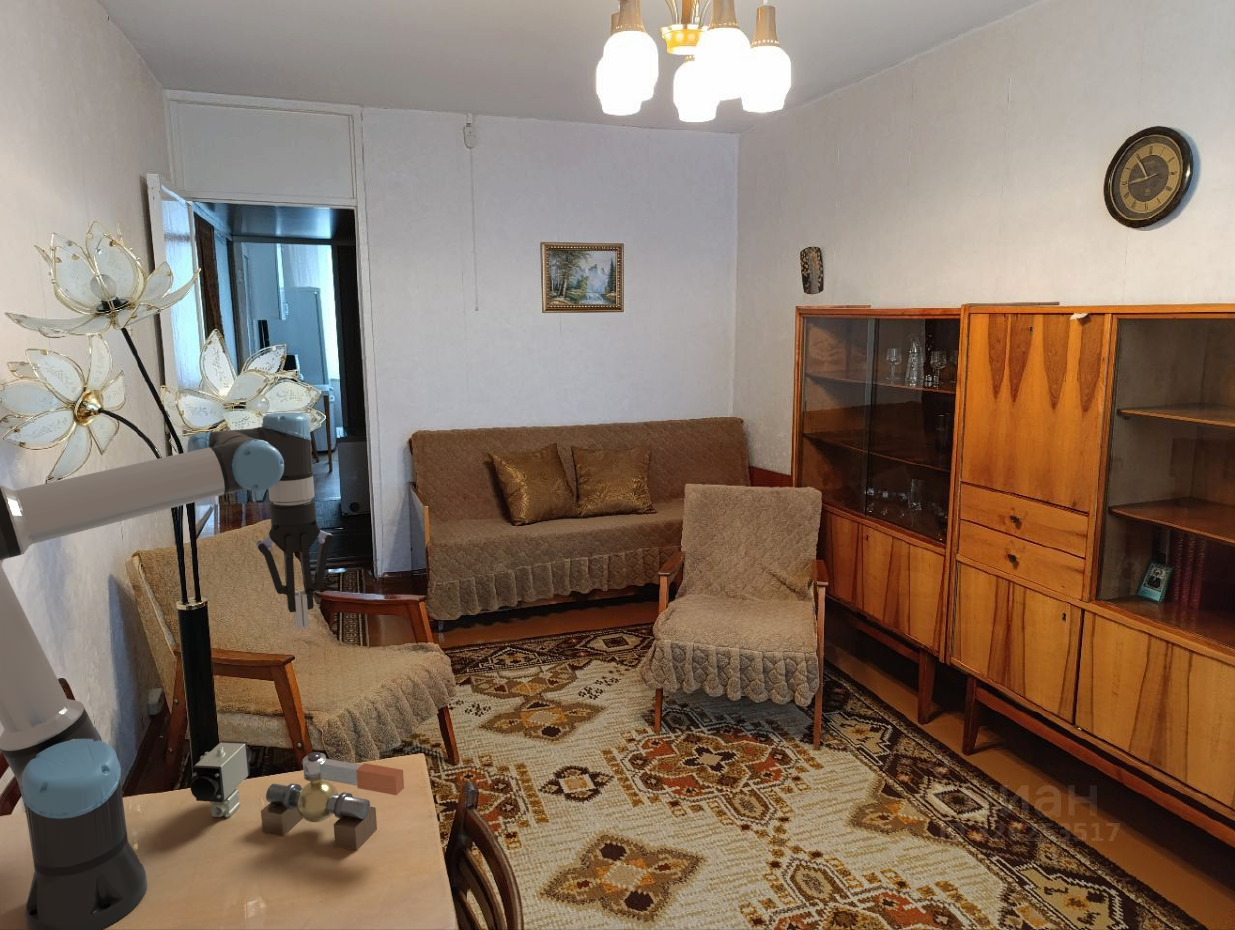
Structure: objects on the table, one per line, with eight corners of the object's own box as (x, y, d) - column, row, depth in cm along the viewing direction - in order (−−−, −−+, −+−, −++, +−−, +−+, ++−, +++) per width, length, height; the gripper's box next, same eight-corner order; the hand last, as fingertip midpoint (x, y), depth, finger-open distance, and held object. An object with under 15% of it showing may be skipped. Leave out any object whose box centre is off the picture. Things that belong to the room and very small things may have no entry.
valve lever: (299, 780, 140) (297, 758, 139) (313, 768, 143) (311, 748, 142) (394, 797, 134) (392, 775, 134) (406, 785, 138) (405, 764, 137)
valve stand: (261, 833, 142) (256, 779, 140) (287, 811, 148) (282, 759, 146) (355, 851, 137) (351, 795, 135) (378, 828, 143) (374, 774, 141)
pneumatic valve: (256, 793, 154) (250, 732, 152) (220, 832, 142) (213, 766, 140) (227, 792, 154) (221, 730, 152) (189, 830, 143) (182, 765, 141)
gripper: (328, 492, 156) (336, 614, 161) (248, 500, 150) (260, 627, 154) (336, 500, 150) (344, 626, 154) (253, 509, 144) (265, 641, 148)
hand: (302, 627), depth 154 cm, fingers closed
